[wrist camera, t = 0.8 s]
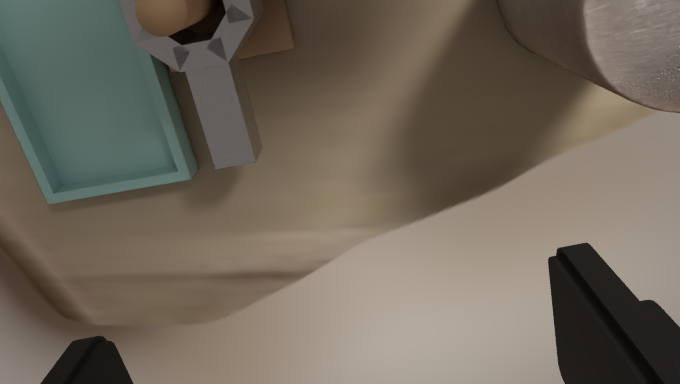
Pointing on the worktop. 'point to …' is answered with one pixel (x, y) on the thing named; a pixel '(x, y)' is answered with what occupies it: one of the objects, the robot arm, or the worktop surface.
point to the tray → (88, 100)
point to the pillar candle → (606, 43)
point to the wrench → (213, 77)
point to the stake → (216, 22)
